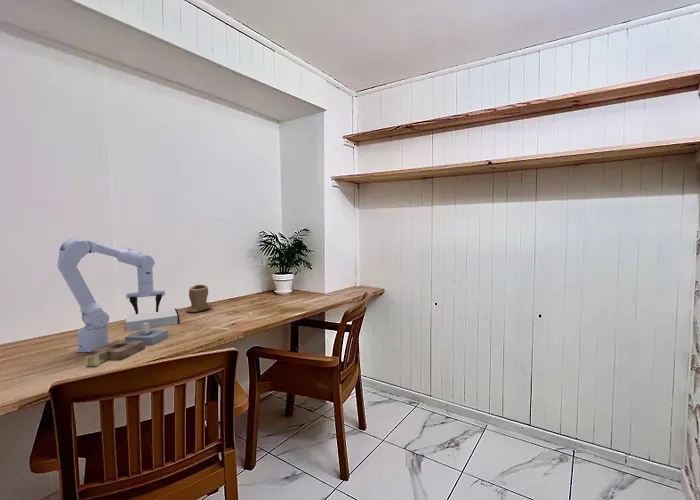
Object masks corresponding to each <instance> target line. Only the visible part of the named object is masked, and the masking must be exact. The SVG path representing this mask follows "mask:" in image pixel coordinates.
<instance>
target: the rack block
mask: <svg viewBox="0 0 700 500" xmlns="http://www.w3.org/2000/svg"><path fill="white" fill-rule="evenodd" d="M168 333H169V331H168V330H164V329H163V330H161V329H160V330H159V329H158V330H157V329H150V335H142V329H140V330H139V331H136V332H134V333H131V334H129V335H127V336H125V337H124V340H125V341H145V346H153V345H154V344H157V343H159V342H161V341H163V340H165V339H167V338H169V334H168Z"/></svg>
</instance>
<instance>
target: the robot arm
mask: <svg viewBox="0 0 700 500" xmlns="http://www.w3.org/2000/svg"><path fill="white" fill-rule="evenodd" d="M94 253H97V254H102V255H106V256H109V257H112V258H116V259H117V261H118V262H120V263H123V264H127V265H130V266H134V267H136V270H137V288H138V290H137V291H135V292H131V293H129V292H128V293H126V297H125V298H126V300H128V299H129V300H128V301H129V302H130V304H131V305H132V307H133V310H134V314H138V313H139V308H138V298H145V297H154V298H155V311H156V312H158V311H159V308H160V303H161V300H162V298H163V296H165V295H166V291H165V290H164V289H163V290H155V289H154V273H153V268H154V266H155V263H156V262H155V260H154V258H153V257H152V256H151V255H147V254H143V252H140V251H139V252H136V251H133V250H132V249H131V248H123V249H116V248H113V247H110V246H108V245H104V244H103V243H102V244H101V243H98V242H96V241H89V240H85V239H80V238H79V239H71V238H70V239H67V240H65V241H64V242H63V243H62V244H61V245H60V247H59V248H58V258H57V259H58V260H57V269H58V270H59V272H60V273H61V275H62V277H63V279H64V280H65V283H66V285H67V286H68V287H69V290H70V291H71V293H72V295H73V296H74V298H75V300H76V302H77V303H78V304H77V305H79V307H80V309H79V311H80V312H81V321H82V322H83V323H84V324H85V325H84V327H81V328H80V329H79V330H78V332H77V335H76V336H77V349H76V352H78V353H79V352H80V353H91V351H92V350H95V349H97V348H100V347H102V346H104V345H107V344H109V334H108V333H109V332H108V323H109V322H110V321H109V320H110V315H109V314H108V313H107V312H106V311H104V310H103V308H102V306H100V305H99V303H98V302H96V300H95V298H94V296H93V294H92V293H91V290H90V289H89V286H88V285H87V284H86V281H85V280H84V277H83V275H82V274H81V272H80V270H79V269H78V265H79V263H80V262H81V260H82V259H83V258H85V256H86V255H88V254H94Z"/></svg>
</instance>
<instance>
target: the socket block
mask: <svg viewBox="0 0 700 500" xmlns="http://www.w3.org/2000/svg"><path fill="white" fill-rule="evenodd" d="M145 349H146V345H145V341H125V339H124V340H123V339H122V340H119V339H117V340H115V341H112V342H110V343H109V342H108V344H107V345H104V346H102V347H100V348H97V349H95V350H92V351H91V352H90V354H91V355H94V354H96V353H98V352H101V351H108V356H109V359H108V360H107V361H109V360H110V361H113V360H114V361H117V360H118V361H122V360H125V359H127V358H128V357H131V356H132V355H135V354H137V353H138V352H141V351H143V350H145Z"/></svg>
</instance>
